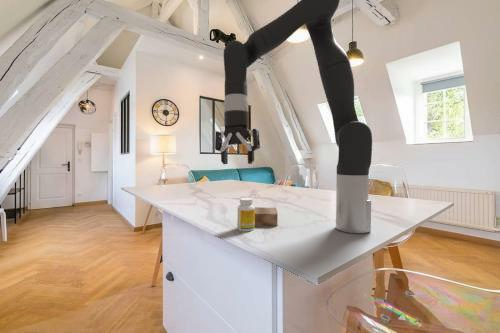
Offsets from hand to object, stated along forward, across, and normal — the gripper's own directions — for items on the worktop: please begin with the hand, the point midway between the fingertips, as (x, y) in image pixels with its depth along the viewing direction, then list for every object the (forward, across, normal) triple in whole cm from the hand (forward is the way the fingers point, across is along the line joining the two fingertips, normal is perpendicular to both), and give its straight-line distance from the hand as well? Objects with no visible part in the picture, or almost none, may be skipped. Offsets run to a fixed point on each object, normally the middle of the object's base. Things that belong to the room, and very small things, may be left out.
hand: (237, 164), depth 72 cm
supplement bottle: (+21, -2, -1) cm, 21 cm away
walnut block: (+21, -4, -11) cm, 24 cm away
